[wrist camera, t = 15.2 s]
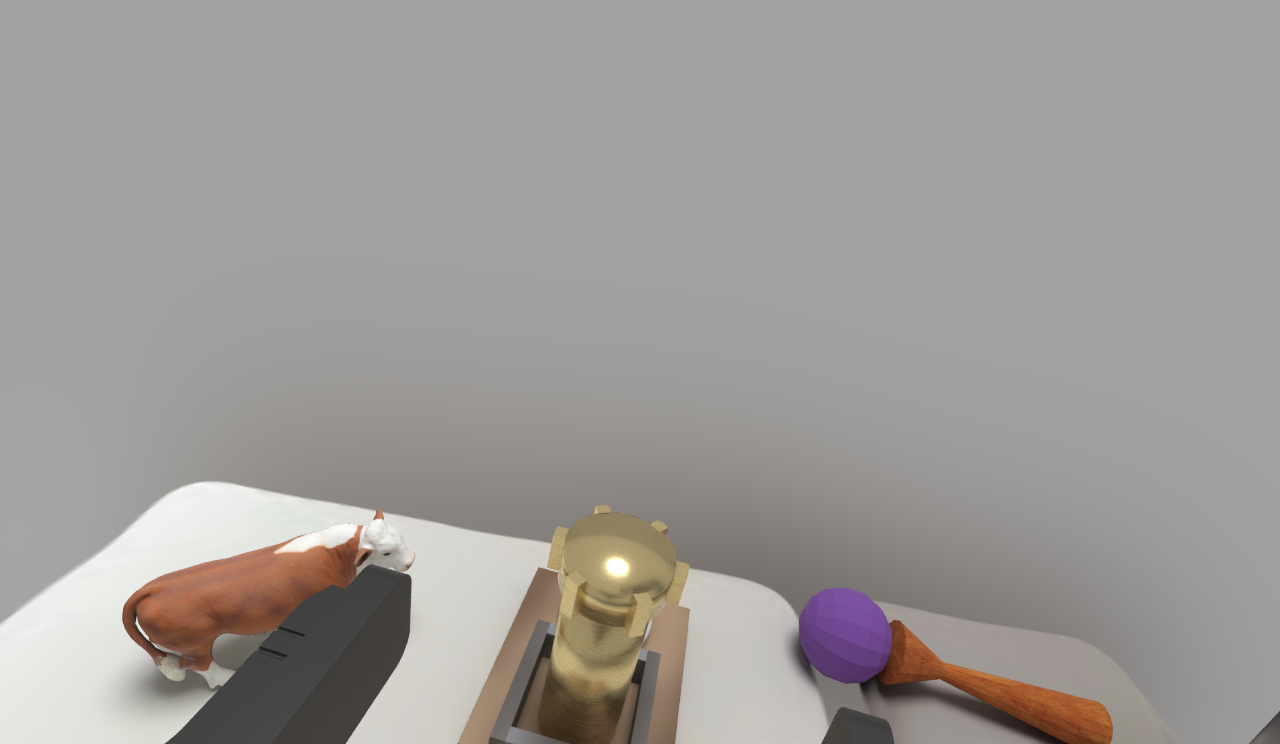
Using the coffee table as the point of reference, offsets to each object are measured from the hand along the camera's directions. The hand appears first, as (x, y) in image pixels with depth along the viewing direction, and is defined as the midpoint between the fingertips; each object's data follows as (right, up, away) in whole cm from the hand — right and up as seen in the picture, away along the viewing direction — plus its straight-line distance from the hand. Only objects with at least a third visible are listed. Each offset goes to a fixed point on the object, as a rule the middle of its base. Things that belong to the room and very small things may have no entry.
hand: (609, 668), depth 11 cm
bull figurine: (-20, -11, +25) cm, 34 cm away
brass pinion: (-3, -14, +22) cm, 26 cm away
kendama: (+21, -17, +31) cm, 41 cm away
